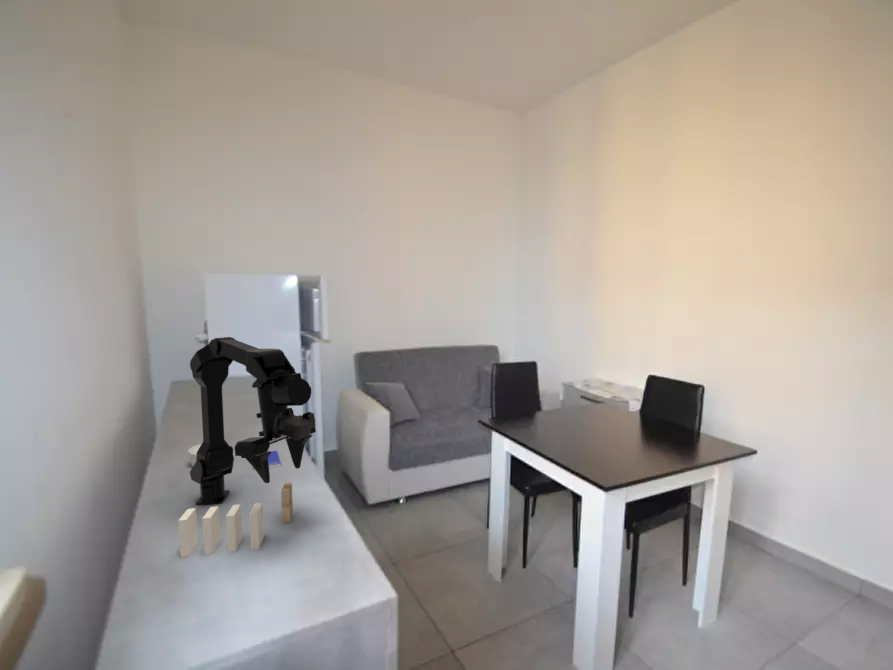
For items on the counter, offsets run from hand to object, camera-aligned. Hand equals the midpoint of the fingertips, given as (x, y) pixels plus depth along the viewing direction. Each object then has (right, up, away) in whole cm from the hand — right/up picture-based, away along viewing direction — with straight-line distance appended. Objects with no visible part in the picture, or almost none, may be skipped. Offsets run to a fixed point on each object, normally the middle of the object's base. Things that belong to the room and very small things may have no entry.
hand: (283, 475), depth 97 cm
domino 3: (-10, -15, -2) cm, 18 cm away
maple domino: (-2, -14, +9) cm, 17 cm away
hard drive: (-23, -11, +45) cm, 52 cm away
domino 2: (-14, -15, -3) cm, 21 cm away
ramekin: (-41, -11, +44) cm, 61 cm away
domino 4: (-5, -15, -1) cm, 15 cm away
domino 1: (-19, -15, -4) cm, 24 cm away
